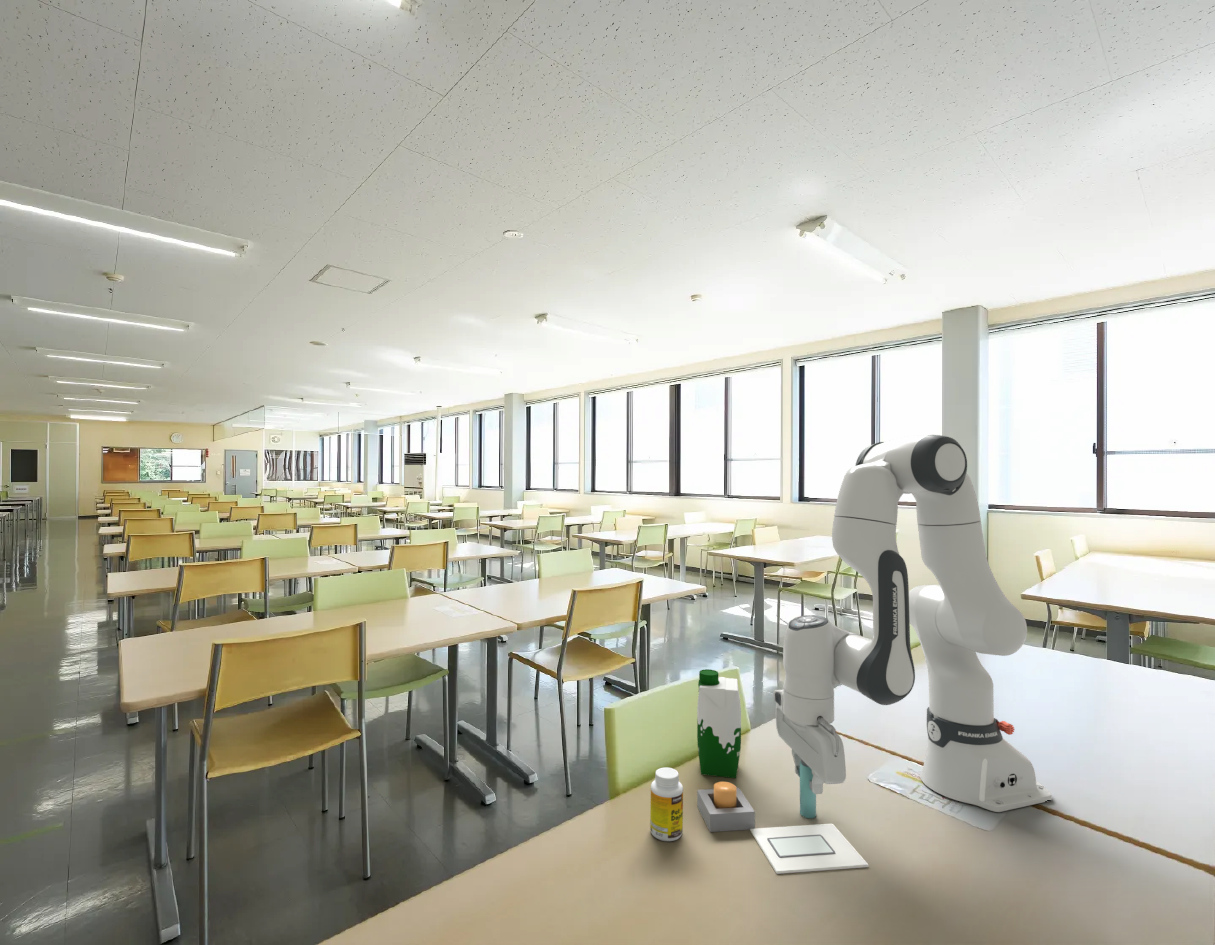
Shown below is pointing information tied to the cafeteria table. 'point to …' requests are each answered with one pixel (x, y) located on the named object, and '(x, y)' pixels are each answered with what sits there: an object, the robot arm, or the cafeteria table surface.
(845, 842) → the worksheet
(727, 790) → the button
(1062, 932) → the cafeteria table surface
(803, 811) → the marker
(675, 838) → the supplement bottle
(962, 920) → the cafeteria table surface
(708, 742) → the milk carton
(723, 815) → the button housing
